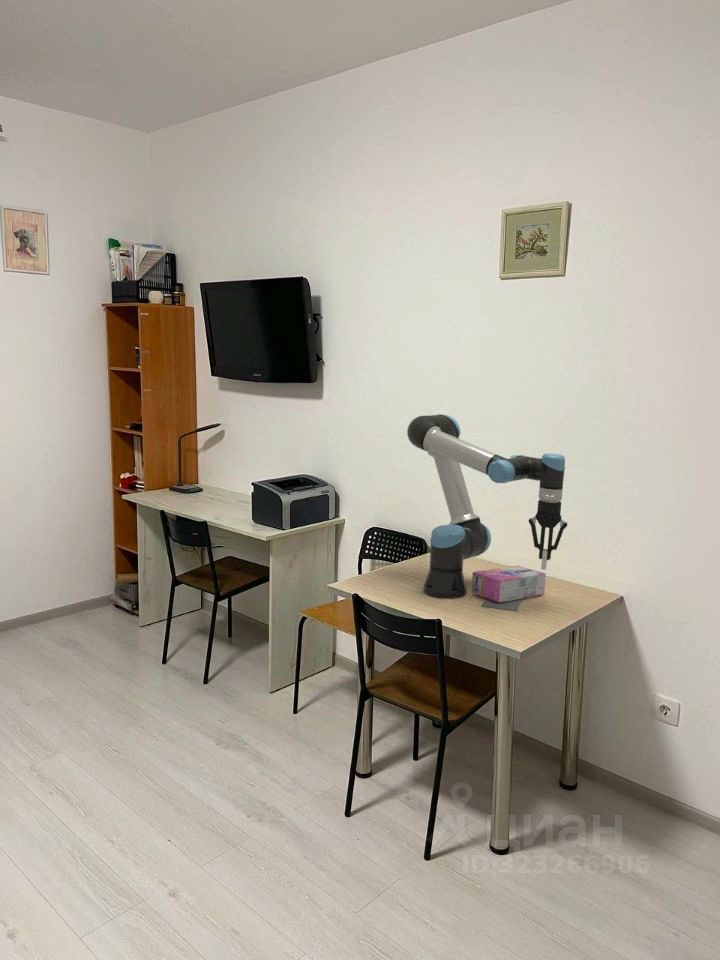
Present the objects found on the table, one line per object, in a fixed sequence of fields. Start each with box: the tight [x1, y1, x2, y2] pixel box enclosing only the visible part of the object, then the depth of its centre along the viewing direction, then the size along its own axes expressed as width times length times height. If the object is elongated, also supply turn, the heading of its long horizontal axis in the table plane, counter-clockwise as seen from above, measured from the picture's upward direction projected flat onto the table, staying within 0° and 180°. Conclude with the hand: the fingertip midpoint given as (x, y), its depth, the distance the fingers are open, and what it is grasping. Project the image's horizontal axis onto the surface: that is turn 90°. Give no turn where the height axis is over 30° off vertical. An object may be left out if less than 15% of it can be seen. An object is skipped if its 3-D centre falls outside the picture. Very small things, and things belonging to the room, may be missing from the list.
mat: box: [480, 597, 522, 612], centre depth 258 cm, size 12×20×1 cm, turn 162°
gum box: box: [471, 565, 547, 603], centre depth 263 cm, size 24×8×14 cm
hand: (543, 568), depth 252 cm, fingers closed
